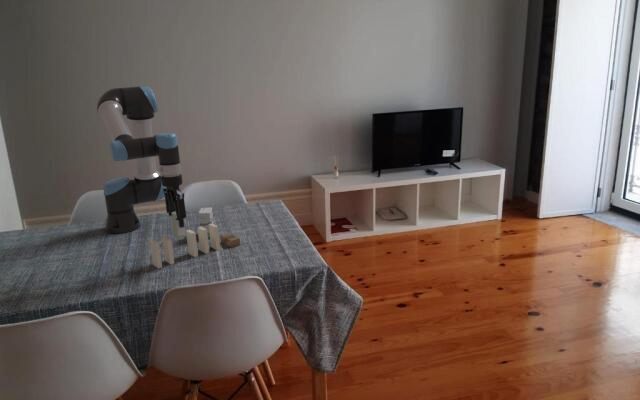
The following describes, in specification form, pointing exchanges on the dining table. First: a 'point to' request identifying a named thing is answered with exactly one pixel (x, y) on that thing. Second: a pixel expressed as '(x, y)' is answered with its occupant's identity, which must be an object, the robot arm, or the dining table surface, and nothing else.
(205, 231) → the domino
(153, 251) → the domino
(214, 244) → the domino
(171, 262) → the domino
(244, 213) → the dining table surface
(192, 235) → the domino
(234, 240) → the end block
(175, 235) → the domino
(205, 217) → the ink box
